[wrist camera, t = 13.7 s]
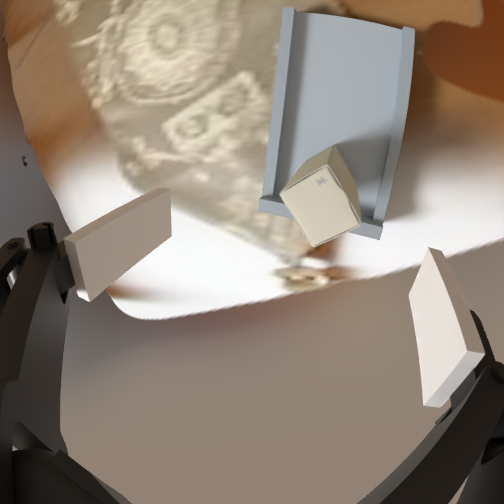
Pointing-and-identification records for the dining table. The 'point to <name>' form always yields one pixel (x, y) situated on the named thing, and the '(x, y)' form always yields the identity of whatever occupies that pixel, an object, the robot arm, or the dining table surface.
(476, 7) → the dining table surface
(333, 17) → the blue-grey tray
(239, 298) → the dining table surface
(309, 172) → the box
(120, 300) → the dining table surface
